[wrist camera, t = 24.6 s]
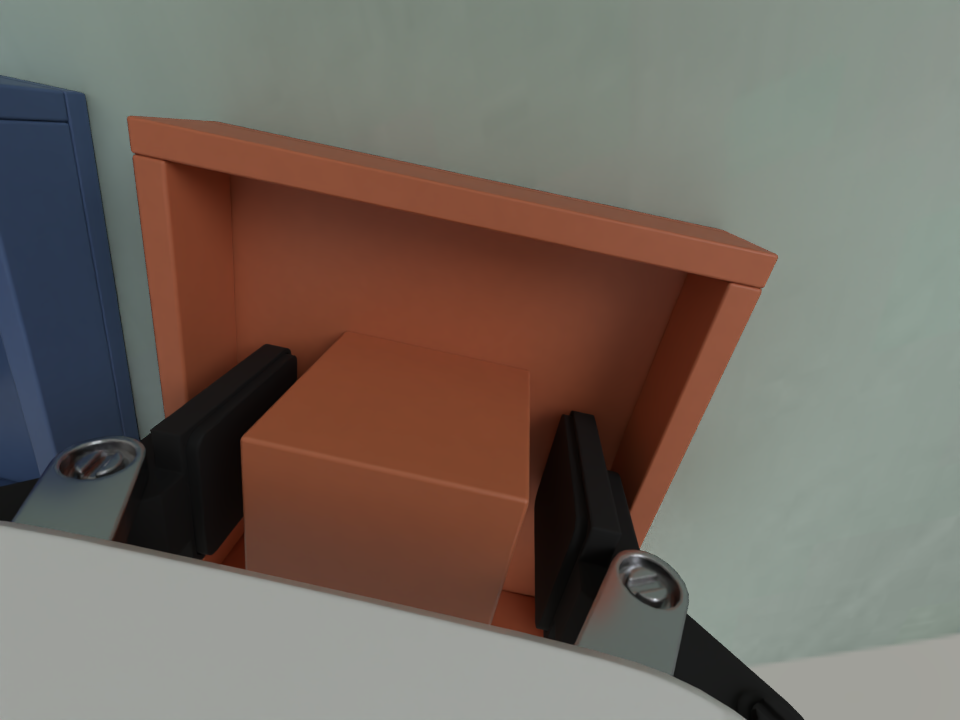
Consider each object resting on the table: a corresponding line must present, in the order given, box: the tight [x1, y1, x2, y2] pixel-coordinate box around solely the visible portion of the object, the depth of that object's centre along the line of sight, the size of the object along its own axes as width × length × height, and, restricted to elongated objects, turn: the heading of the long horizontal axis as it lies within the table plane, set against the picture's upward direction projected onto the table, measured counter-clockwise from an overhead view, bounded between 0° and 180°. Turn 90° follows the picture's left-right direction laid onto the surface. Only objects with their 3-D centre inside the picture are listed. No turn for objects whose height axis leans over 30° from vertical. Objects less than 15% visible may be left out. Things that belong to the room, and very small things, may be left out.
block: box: [240, 331, 530, 625], centre depth 10 cm, size 5×5×5 cm
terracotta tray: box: [127, 116, 778, 638], centre depth 12 cm, size 12×11×2 cm
